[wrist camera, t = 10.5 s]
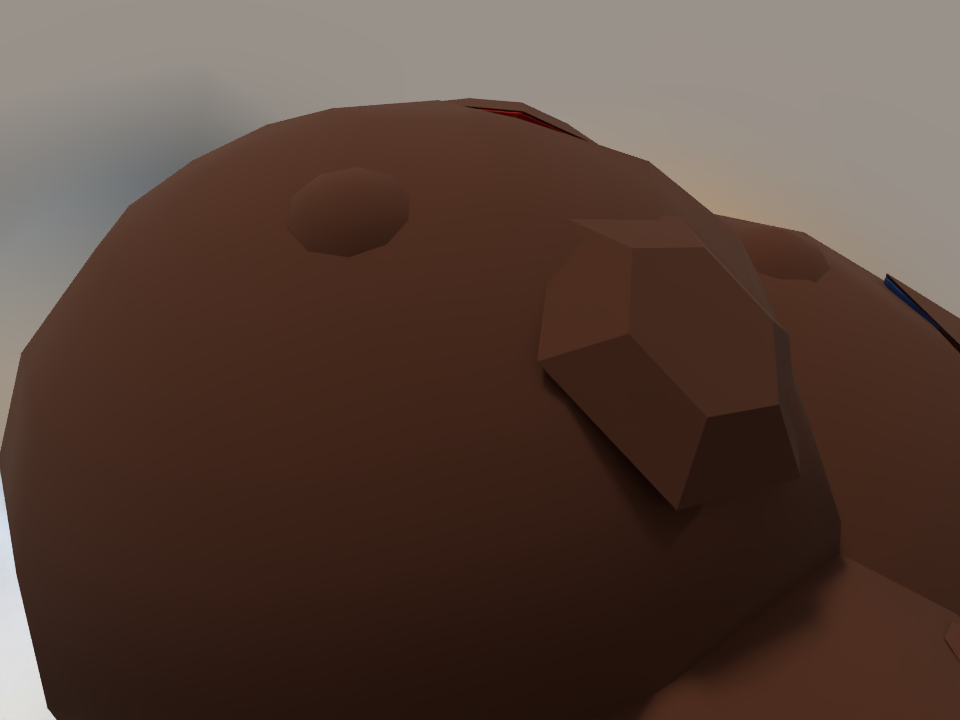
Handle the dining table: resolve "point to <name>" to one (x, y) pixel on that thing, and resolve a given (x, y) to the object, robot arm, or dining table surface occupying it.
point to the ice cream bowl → (480, 446)
